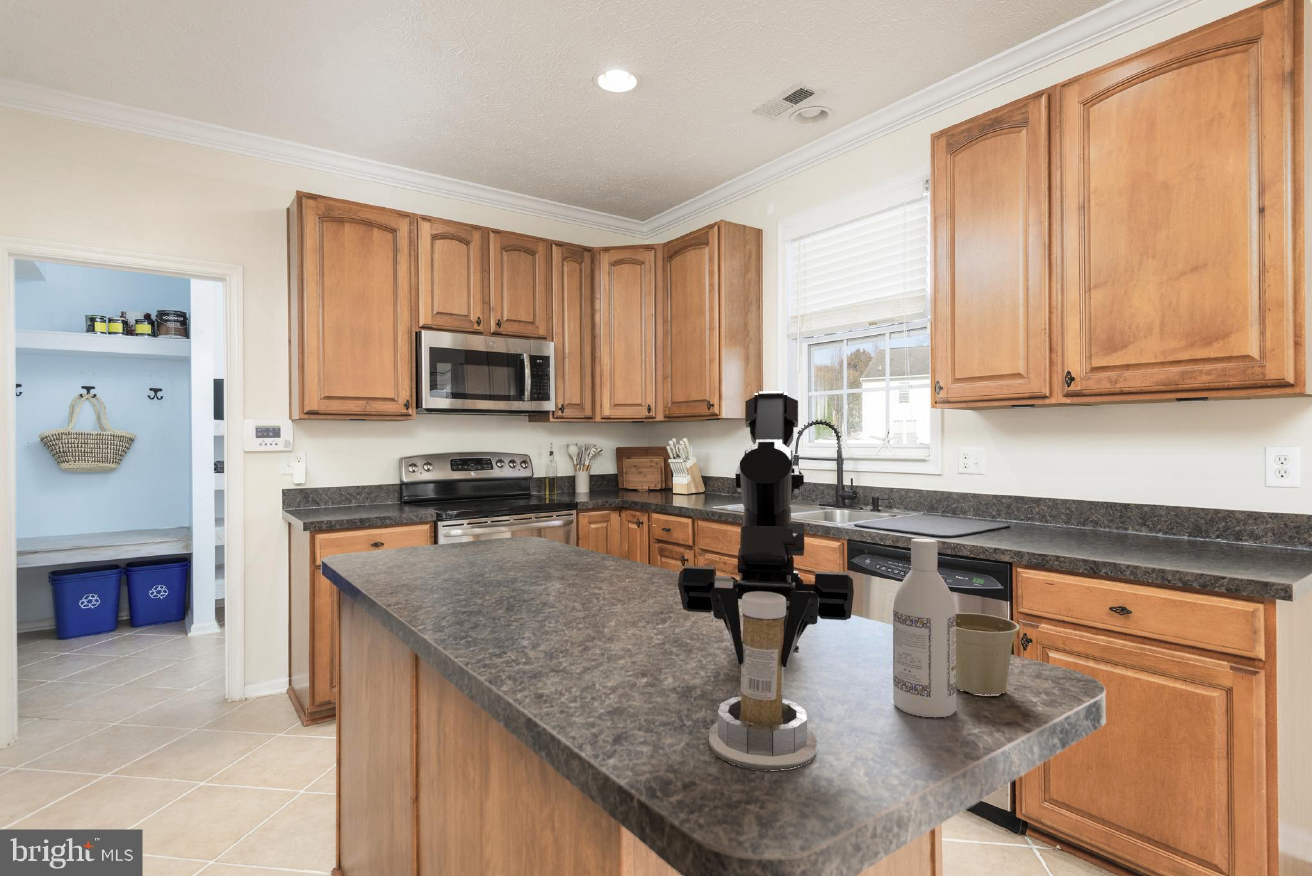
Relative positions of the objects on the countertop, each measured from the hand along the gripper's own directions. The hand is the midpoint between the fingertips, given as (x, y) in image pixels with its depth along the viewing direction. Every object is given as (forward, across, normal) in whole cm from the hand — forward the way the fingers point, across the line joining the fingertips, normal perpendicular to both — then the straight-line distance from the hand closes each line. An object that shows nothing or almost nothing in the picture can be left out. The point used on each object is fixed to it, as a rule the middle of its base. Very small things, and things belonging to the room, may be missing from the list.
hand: (761, 664), depth 68 cm
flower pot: (-10, +26, +23) cm, 36 cm away
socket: (+6, 0, +7) cm, 9 cm away
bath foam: (-4, +18, +17) cm, 26 cm away
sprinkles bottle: (+4, 0, +6) cm, 7 cm away
